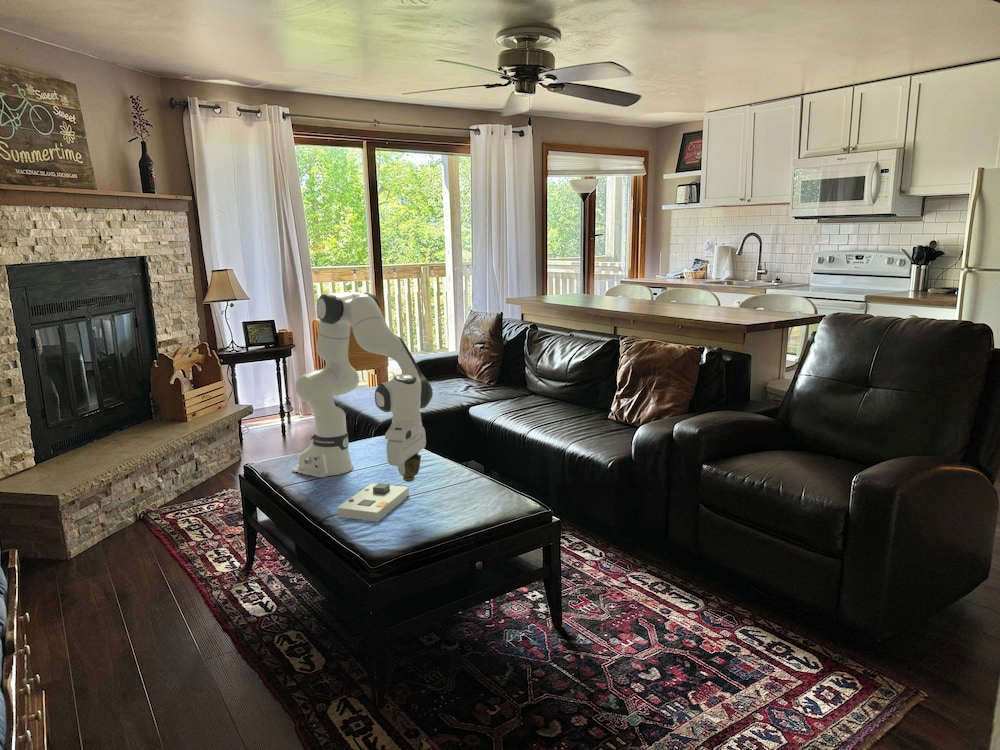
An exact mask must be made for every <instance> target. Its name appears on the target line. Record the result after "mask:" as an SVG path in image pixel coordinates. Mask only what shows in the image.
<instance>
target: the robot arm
mask: <svg viewBox="0 0 1000 750" xmlns="http://www.w3.org/2000/svg"><path fill="white" fill-rule="evenodd" d="M315 309H316V315H317V318H318V319H319V325H318V331H317V340H316V353H317V356H319V358H320V359H322V360H324V362H325V367H324V368H321V369H316V370H311V371H309V372H308V371H307V372H306V373H305V374H302V375H300V376H299V377H297V379H296V381H295V392H296V394H297V396H298V398H300V399H301V400H302V401H303V402H305V403H306V404H307V405H308V406H309V407H310V409H311V411H312V412H313V416H314V425H315V432H316V433H315V434H313V436H310V437H309V440H310V441H312V443H311V444H310V445H309V446H308V447H306V449H304V450H303V451H302V452H301V453H300V455H299V457H298V463H297V464H295V465H294V466H293V468H292V472H293V473H296V472H298V474H301V473H302V475H306V476H310V475H311V476H312V477H316V478H326V477H330V476H338V475H342V474H346V473H348V472H350V471H352V470H353V469H354V466H353V465H354V464H353V463H352V459H351V454H350V451H349V432H348V431H347V419H346V417H347V416H346V412H345V411H344V410H343V409H342V408H341V407H338V406H336V404H335V401H334V397H338V396H343V395H347V394H348V393H351V392H352V391H354V390H356V389H357V387H358V386H359V384H360V383H359V382H360V377H359V374H358V372H357V370H356V369H355V368H354V367H353V366H352V365H351V363H350V359H349V345H350V338H351V337H350V336H351V330H352V333H353V336H354V339H355V340H356V343H357V345H358V346H359V347H360V348H361V349H363V350H364V351H366V352H368V353H370V354H375V355H380V356H381V355H382V356H385V357H388V358H390V359H392V360H394V361H395V362H396V363H397V365H398V367H399V368H400V370H401V372H402V373H400V374H396V375H394V376H393V377H392V379H391V380H389V381H385V382H382V383H380V384H378V386H376V387H377V388H376V389H375V391H374V402H375V405H376V407H377V408H378V409H379V410H380V411H382V412H385V413H392V416H391V417H392V418H391V424H390V425H389V427H388V430H386V432H385V434H384V435H385V436H384V438H385V440H387V443H386V459H387V463H388V464H389V465H390V466H394V467H396V466H397V469H398V468H399V470H398V473H399V475H401V476H402V475H404V474H406V473H407V471H406V470H407V468H405V466H404V464H405V461H406V460H408V459H409V458H411V457H412V456H413V455H416V454H418V456H419V455H420V452H421V450H423V449H425V448H426V445H427V438H426V436H427V435H426V430H425V427H424V426H423V422H422V416H421V415H422V414H421V411H420V410H421V409H425V408H426V407H428V405H429V404H430V403H431V400H433V399H432V398H433V387H432V385H431V383H430V382H429V380H427V378H426V377H425V375H424V374H423V373H422V371H421V368H420V367H419V365H418V363H416V360H415V359H414V357H413V355H412V353H411V351H410V350H409V348H408V346H407V344H406V343H405V341H404V340H403V339H402V337H400V336H398V335H396V334H395V333H394V332H393V331H392V330H391V329H390V327H389V326H388V324H387V323H386V320H385V317H384V316H383V313H382V311H381V310H382V309H381V303H380V301H379V299H378V297H377V296H376V295H375V294H373V293H369V292H358V291H357V292H356V291H347V292H334V293H333V292H326V293H324V294H323V293H322V294H321V295H320V296H319V298H318V299H317V302H316V308H315ZM311 476H310V477H311Z"/></svg>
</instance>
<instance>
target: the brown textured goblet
mask: <svg viewBox="0 0 1000 750" xmlns="http://www.w3.org/2000/svg"><path fill="white" fill-rule="evenodd" d="M421 457H422V455H420V454H419V456H418V454H416V455H413V456H412V457H411V458H409V459H408V460H406V461H405V464H404V466H405V468H407V470H406V471H407V473H406V474H404V475H401V476H402V480H403V481H404V482H405V483H410V482H413V481H415V480H416V479H415V478H416V477H415V476H416V475H418V474H419V471H420V467H421V466H420V465H421V460H422V458H421ZM397 469H398V471H399V468H398V467H397Z"/></svg>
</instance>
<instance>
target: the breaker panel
mask: <svg viewBox="0 0 1000 750" xmlns="http://www.w3.org/2000/svg"><path fill="white" fill-rule="evenodd" d="M377 484H378V483H373V482H371V483H370V484H368V485H367V486H365V487H364V488H363V489H361V490H359V492H357V493H356V494H354V495H352V496H351V497H350V498H348V499H347V500H346V501H344V502H343V503H342V504H340V505H339V506H338V507H337V508H336V511H337V517H338V516H339V518H345V517H348V518H347V519H352V518H355V520H360V519H361V520H360V521H369V522H375V523H376V522H380V521H381V520H382V519H383V518H384V517H385V516H387V515H388V514H389V513H390V512H392V511H393V510H394V509H395V508H396V507H397V506H399V505H400V504H401V503H402V502H403V501H405V500H406V499H407V498H408V497H410V492H409V491H410V489H409V486H402V485H392V484H390V491H389V492H387V493H386V494H385V495H382V494H374V493H373V487H374V486H376V485H377ZM407 496H408V497H407ZM406 497H407V498H406ZM405 498H406V499H405ZM364 499H365V500H374V501H375V502H374V503H373V504H372V505H371V506H362V505H358V504H359V503H360V502H361V501H363V500H364ZM387 513H388V514H387Z"/></svg>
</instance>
